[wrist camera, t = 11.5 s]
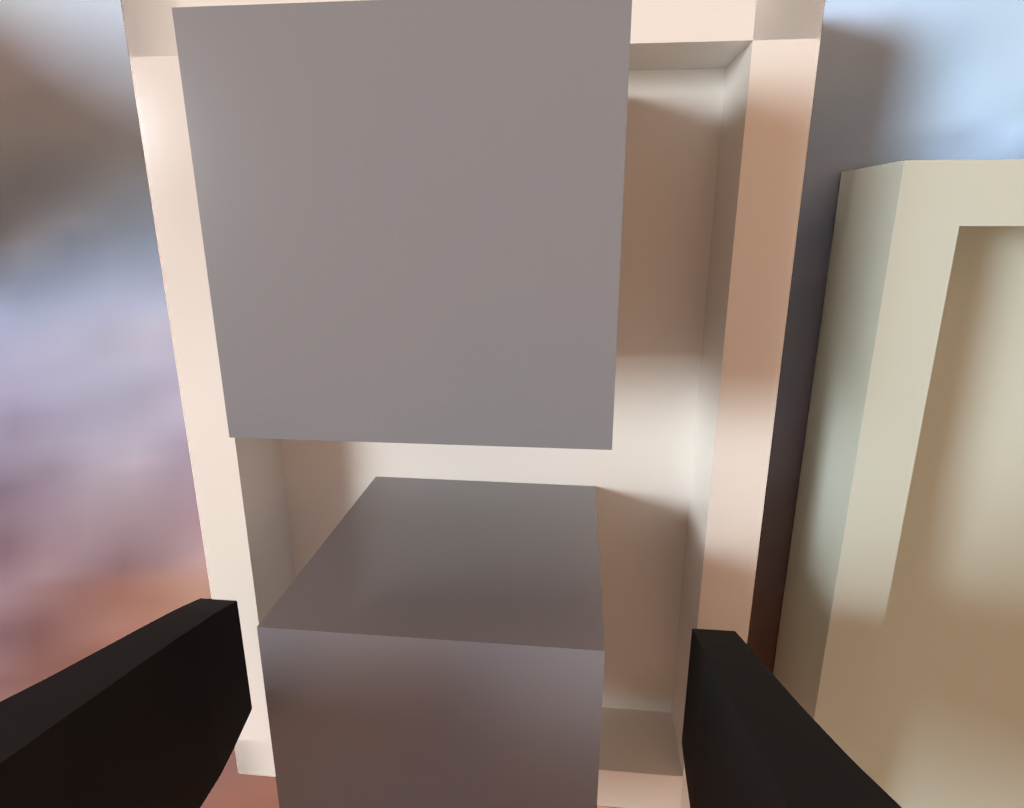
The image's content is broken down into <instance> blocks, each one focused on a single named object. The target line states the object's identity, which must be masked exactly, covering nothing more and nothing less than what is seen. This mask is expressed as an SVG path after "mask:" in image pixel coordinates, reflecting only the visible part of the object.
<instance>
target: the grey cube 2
mask: <svg viewBox="0 0 1024 808" xmlns="http://www.w3.org/2000/svg"><path fill="white" fill-rule="evenodd" d="M257 633H258V641H259V648H260V656H261V664H262V672H263V680H264V688H265V696H266V704H267V712H268V719H269V727H270V735H271V743H272V751H273V759H274V767H275V775H276V782H277V790H278V798H279V806H280V808H597V795H598V776H599V757H600V738H601V719H602V700H603V681H604V663H605V641H604V625H603V608H602V592H601V576H600V559H599V543H598V526H597V510H596V494H595V486H581V485H558V484H535V483H512V482H490V481H467V480H444V479H422V478H399V477H375V478H374V479H373V481H372V482H371V483H370V484H369V486H368V487H367V488H366V490H365V491H364V492H363V493H362V495H361V496H360V497H359V498H358V500H357V501H356V502H355V503H354V505H353V506H352V507H351V509H350V510H349V511H348V512H347V514H346V515H345V516H344V517H343V519H342V520H341V521H340V522H339V524H338V525H337V526H336V528H335V529H334V530H333V531H332V533H331V534H330V535H329V536H328V538H327V539H326V540H325V541H324V543H323V544H322V545H321V546H320V548H319V549H318V550H317V552H316V553H315V554H314V555H313V557H312V558H311V559H310V560H309V562H308V563H307V564H306V565H305V567H304V568H303V569H302V571H301V572H300V573H299V574H298V576H297V577H296V578H295V579H294V581H293V582H292V583H291V584H290V586H289V587H288V588H287V590H286V591H285V592H284V593H283V595H282V596H281V597H280V598H279V600H278V601H277V602H276V603H275V605H274V606H273V607H272V608H271V610H270V611H269V612H268V614H267V615H266V616H265V617H264V619H263V620H262V621H261V622H260V624H259V625H258V626H257Z"/></svg>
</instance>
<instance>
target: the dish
mask: <svg viewBox="0 0 1024 808" xmlns="http://www.w3.org/2000/svg"><path fill="white" fill-rule="evenodd" d="M334 1H361V0H121V7H122V13H123V20H124V26H125V33H126V39H127V46H128V53H129V59H130V66H131V72H132V79H133V85H134V92H135V99H136V105H137V112H138V118H139V125H140V131H141V138H142V144H143V151H144V158H145V164H146V171H147V177H148V184H149V190H150V197H151V204H152V210H153V217H154V223H155V230H156V236H157V243H158V249H159V256H160V263H161V269H162V276H163V282H164V289H165V295H166V302H167V309H168V315H169V322H170V328H171V335H172V341H173V348H174V354H175V361H176V368H177V374H178V381H179V387H180V394H181V400H182V407H183V414H184V420H185V427H186V433H187V440H188V446H189V453H190V459H191V466H192V473H193V479H194V486H195V492H196V499H197V505H198V512H199V519H200V525H201V532H202V538H203V545H204V551H205V558H206V565H207V571H208V578H209V584H210V591H211V597H212V599H218V600H234V601H237V604H238V611H239V618H240V625H241V632H242V639H243V647H244V654H245V661H246V668H247V675H248V682H249V690H250V697H251V704H252V710H251V712H250V715H249V717H248V719H247V721H246V723H245V725H244V728H243V730H242V732H241V734H240V736H239V738H238V741H237V743H236V745H235V747H234V748H235V755H236V761H237V768H238V774H250V775H261V776H272V777H276V775H275V767H274V759H273V751H272V743H271V735H270V727H269V719H268V712H267V704H266V696H265V688H264V680H263V672H262V664H261V656H260V648H259V641H258V633H257V626H258V625H259V624H260V622H261V621H262V620H263V619H264V617H265V616H266V615H267V614H268V612H269V611H270V610H271V608H272V607H273V606H274V605H275V603H276V602H277V601H278V600H279V598H280V597H281V596H282V595H283V593H284V592H285V591H286V590H287V588H288V587H289V586H290V584H291V583H292V582H293V581H294V579H295V578H296V577H297V576H298V574H299V573H300V572H301V571H302V569H303V568H304V567H305V565H306V564H307V563H308V562H309V560H310V559H311V558H312V557H313V555H314V554H315V553H316V552H317V550H318V549H319V548H320V546H321V545H322V544H323V543H324V541H325V540H326V539H327V538H328V536H329V535H330V534H331V533H332V531H333V530H334V529H335V528H336V526H337V525H338V524H339V522H340V521H341V520H342V519H343V517H344V516H345V515H346V514H347V512H348V511H349V510H350V509H351V507H352V506H353V505H354V503H355V502H356V501H357V500H358V498H359V497H360V496H361V495H362V493H363V492H364V491H365V490H366V488H367V487H368V486H369V484H370V483H371V482H372V481H373V479H374V478H375V477H399V478H422V479H444V480H467V481H490V482H512V483H535V484H558V485H581V486H595V494H596V510H597V526H598V543H599V559H600V576H601V592H602V608H603V625H604V641H605V663H604V681H603V700H602V719H601V738H600V757H599V776H598V795H597V805H599V806H611V807H622V808H690V802H689V795H688V788H687V781H686V773H685V765H684V758H683V750H682V732H683V721H684V710H685V700H686V689H687V678H688V667H689V656H690V645H691V634H692V628H694V629H710V630H727V631H735V632H736V633H737V634H738V635H739V636H740V637H741V638H742V639H743V640H744V642H745V643H746V644H747V640H748V632H749V624H750V616H751V607H752V599H753V591H754V583H755V574H756V566H757V558H758V550H759V541H760V533H761V525H762V517H763V508H764V500H765V492H766V484H767V476H768V467H769V459H770V451H771V443H772V434H773V426H774V418H775V410H776V401H777V393H778V385H779V377H780V368H781V360H782V352H783V344H784V335H785V327H786V319H787V311H788V302H789V294H790V286H791V278H792V270H793V261H794V253H795V245H796V237H797V228H798V220H799V212H800V204H801V195H802V187H803V179H804V171H805V162H806V154H807V146H808V138H809V129H810V121H811V113H812V105H813V96H814V88H815V80H816V72H817V64H818V55H819V47H820V39H821V31H822V22H823V14H824V6H825V0H632V14H631V36H630V59H629V81H628V103H627V126H626V148H625V171H624V193H623V215H622V238H621V260H620V282H619V305H618V327H617V349H616V372H615V394H614V417H613V439H612V450H596V449H565V448H535V447H505V446H474V445H444V444H413V443H383V442H352V441H322V440H292V439H261V438H231V437H229V430H228V423H227V416H226V408H225V401H224V393H223V386H222V378H221V371H220V364H219V356H218V349H217V341H216V334H215V326H214V319H213V311H212V304H211V297H210V289H209V282H208V274H207V267H206V259H205V252H204V245H203V237H202V230H201V222H200V215H199V207H198V200H197V192H196V185H195V178H194V170H193V163H192V155H191V148H190V140H189V133H188V125H187V118H186V111H185V103H184V96H183V88H182V81H181V73H180V66H179V59H178V51H177V44H176V36H175V29H174V21H173V14H172V8H173V7H199V6H226V5H253V4H280V3H307V2H334Z"/></svg>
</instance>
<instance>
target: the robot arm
mask: <svg viewBox="0 0 1024 808" xmlns="http://www.w3.org/2000/svg"><path fill="white" fill-rule="evenodd" d="M251 710H252V704H251V697H250V690H249V682H248V675H247V668H246V661H245V654H244V647H243V639H242V632H241V625H240V618H239V611H238V604H237V601H234V600H218V599H201V598H200V599H198V600H196V601H194V602H191V603H189V604H187V605H185V606H183V607H181V608H178V609H176V610H174V611H172V612H170V613H168V614H167V615H165V616H163V617H161V618H159V619H157V620H155V621H153V622H151V623H149V624H147V625H146V626H144V627H142V628H140V629H138V630H136V631H134V632H132V633H131V634H129V635H127V636H125V637H123V638H121V639H120V640H118V641H116V642H114V643H112V644H110V645H108V646H107V647H105V648H103V649H101V650H99V651H97V652H95V653H94V654H92V655H90V656H88V657H86V658H84V659H82V660H81V661H79V662H77V663H75V664H73V665H71V666H69V667H68V668H66V669H64V670H62V671H60V672H58V673H56V674H54V675H53V676H51V677H49V678H47V679H45V680H43V681H41V682H39V683H37V684H35V685H33V686H31V687H29V688H27V689H25V690H23V691H21V692H19V693H17V694H15V695H13V696H11V697H9V698H7V699H5V700H3V701H1V702H0V808H200V807H201V805H202V804H203V802H204V801H205V799H206V797H207V796H208V794H209V793H210V791H211V789H212V788H213V786H214V784H215V783H216V781H217V780H218V778H219V776H220V775H221V773H222V771H223V769H224V767H225V765H226V763H227V761H228V759H229V757H230V755H231V753H232V751H233V749H234V747H235V745H236V743H237V741H238V738H239V736H240V734H241V732H242V730H243V728H244V725H245V723H246V721H247V719H248V717H249V715H250V712H251ZM682 750H683V758H684V765H685V773H686V781H687V788H688V795H689V802H690V808H902V807H901V806H900V805H899V804H898V803H897V802H896V801H895V800H893V799H892V798H891V797H890V796H889V795H888V794H887V793H886V792H885V791H884V790H883V789H882V788H881V787H880V786H879V785H878V784H877V783H876V782H875V781H874V780H873V779H872V778H871V777H869V776H868V775H867V774H866V773H865V772H864V771H863V770H862V769H861V768H860V767H859V766H858V765H857V764H856V763H855V762H854V761H853V760H852V759H851V758H850V757H849V756H848V755H847V754H846V753H845V752H844V751H843V750H842V749H841V748H840V747H839V745H838V744H837V743H836V742H835V741H834V740H833V739H832V738H831V737H830V736H829V735H828V734H827V733H826V732H825V731H824V730H823V729H822V728H821V726H820V725H819V724H818V723H817V722H816V721H815V720H814V719H813V718H812V717H811V716H810V715H809V714H808V713H807V712H806V710H805V709H804V708H803V707H802V706H801V705H800V704H799V703H798V702H797V701H796V699H795V698H794V697H793V696H792V695H791V694H790V693H789V692H788V690H787V689H786V688H785V687H784V686H783V685H782V684H781V683H780V681H779V680H778V679H777V678H776V677H775V676H774V675H773V674H772V672H771V671H770V670H769V669H768V668H767V667H766V665H765V664H764V663H763V662H762V661H761V660H760V659H759V657H758V656H757V655H756V654H755V653H754V652H753V651H752V649H751V648H750V647H749V646H748V645H747V644H746V643H745V642H744V640H743V639H742V638H741V637H740V636H739V635H738V634H737V633H736V632H735V631H727V630H710V629H694V628H692V634H691V645H690V656H689V667H688V678H687V689H686V700H685V710H684V721H683V732H682Z"/></svg>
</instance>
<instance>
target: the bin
mask: <svg viewBox="0 0 1024 808" xmlns="http://www.w3.org/2000/svg"><path fill="white" fill-rule="evenodd" d="M773 675H774V676H775V677H776V678H777V679H778V680H779V681H780V683H781V684H782V685H783V686H784V687H785V688H786V689H787V690H788V692H789V693H790V694H791V695H792V696H793V697H794V698H795V699H796V701H797V702H798V703H799V704H800V705H801V706H802V707H803V708H804V709H805V710H806V712H807V713H808V714H809V715H810V716H811V717H812V718H813V719H814V720H815V721H816V722H817V723H818V724H819V725H820V726H821V728H822V729H823V730H824V731H825V732H826V733H827V734H828V735H829V736H830V737H831V738H832V739H833V740H834V741H835V742H836V743H837V744H838V745H839V747H840V748H841V749H842V750H843V751H844V752H845V753H846V754H847V755H848V756H849V757H850V758H851V759H852V760H853V761H854V762H855V763H856V764H857V765H858V766H859V767H860V768H861V769H862V770H863V771H864V772H865V773H866V774H867V775H868V776H869V777H871V778H872V779H873V780H874V781H875V782H876V783H877V784H878V785H879V786H880V787H881V788H882V789H883V790H884V791H885V792H886V793H887V794H888V795H889V796H890V797H891V798H892V799H893V800H895V801H896V802H897V803H898V804H899V805H900V806H901V807H902V808H1024V159H982V160H903V161H897V162H892V163H886V164H881V165H876V166H870V167H865V168H859V169H854V170H848V171H843V172H842V173H841V180H840V187H839V194H838V202H837V209H836V216H835V224H834V231H833V238H832V246H831V253H830V260H829V268H828V275H827V282H826V289H825V297H824V304H823V311H822V319H821V326H820V333H819V341H818V348H817V355H816V363H815V370H814V377H813V384H812V392H811V399H810V406H809V414H808V421H807V428H806V436H805V443H804V450H803V457H802V465H801V472H800V479H799V487H798V494H797V501H796V509H795V516H794V523H793V531H792V538H791V545H790V552H789V560H788V567H787V574H786V582H785V589H784V596H783V604H782V611H781V618H780V626H779V633H778V640H777V647H776V655H775V662H774V669H773Z"/></svg>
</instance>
